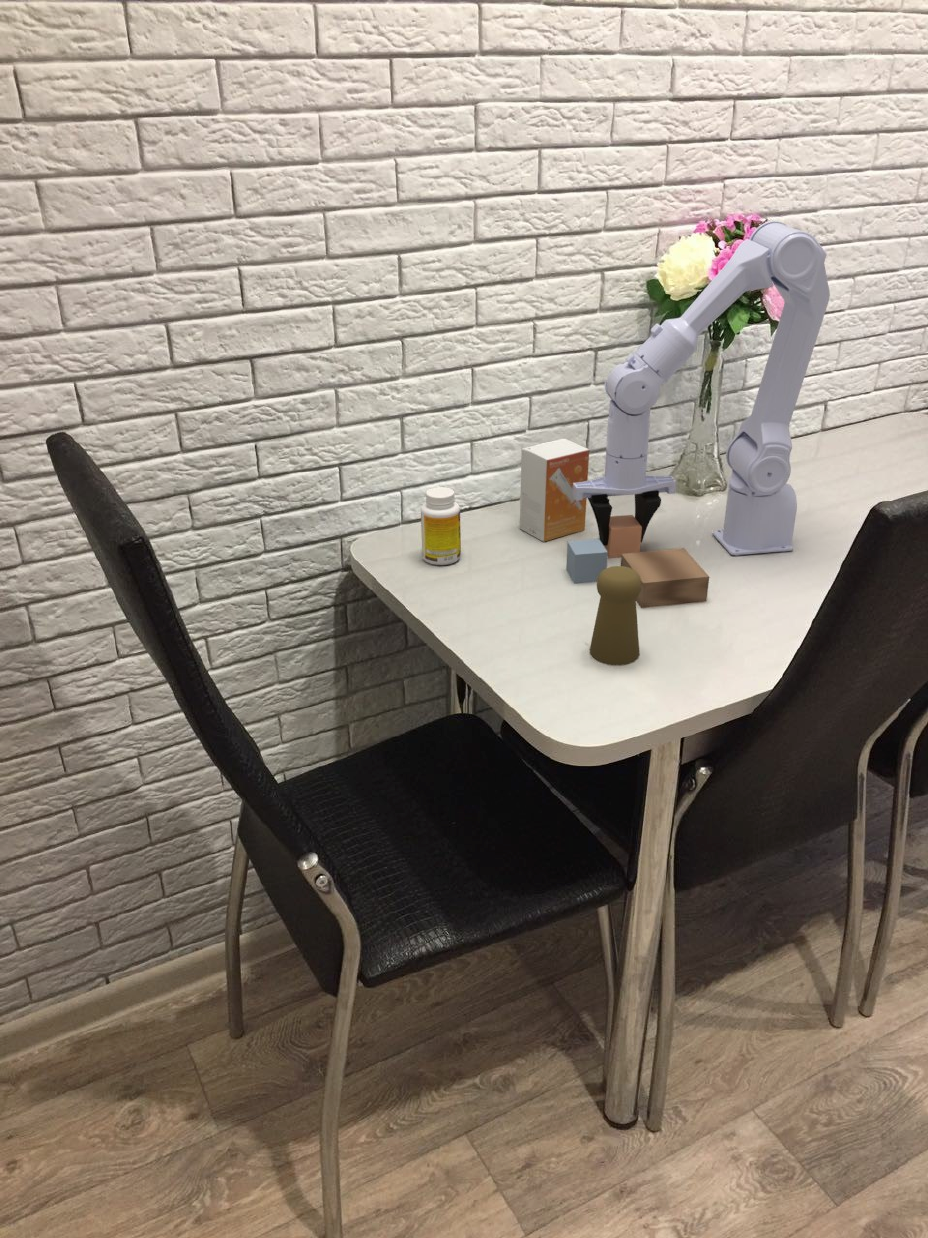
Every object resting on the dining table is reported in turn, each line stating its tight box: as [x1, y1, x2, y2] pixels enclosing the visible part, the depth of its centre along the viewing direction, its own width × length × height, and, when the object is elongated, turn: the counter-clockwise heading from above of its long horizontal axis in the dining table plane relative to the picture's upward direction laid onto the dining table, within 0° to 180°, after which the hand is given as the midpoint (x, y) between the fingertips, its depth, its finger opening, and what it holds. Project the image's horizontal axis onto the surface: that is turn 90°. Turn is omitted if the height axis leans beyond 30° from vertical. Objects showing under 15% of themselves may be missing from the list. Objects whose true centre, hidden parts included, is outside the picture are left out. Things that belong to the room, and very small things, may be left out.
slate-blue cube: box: [565, 538, 608, 585], centre depth 143 cm, size 4×4×4 cm
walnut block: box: [620, 547, 710, 609], centre depth 139 cm, size 9×9×4 cm
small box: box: [519, 438, 590, 542], centre depth 154 cm, size 8×6×13 cm
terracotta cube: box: [604, 514, 642, 559], centre depth 149 cm, size 4×4×4 cm
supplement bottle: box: [420, 486, 462, 566], centre depth 146 cm, size 6×6×10 cm
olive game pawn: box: [589, 565, 642, 666], centre depth 122 cm, size 6×6×11 cm
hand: (620, 541), depth 150 cm, fingers closed on terracotta cube, 4 cm apart
